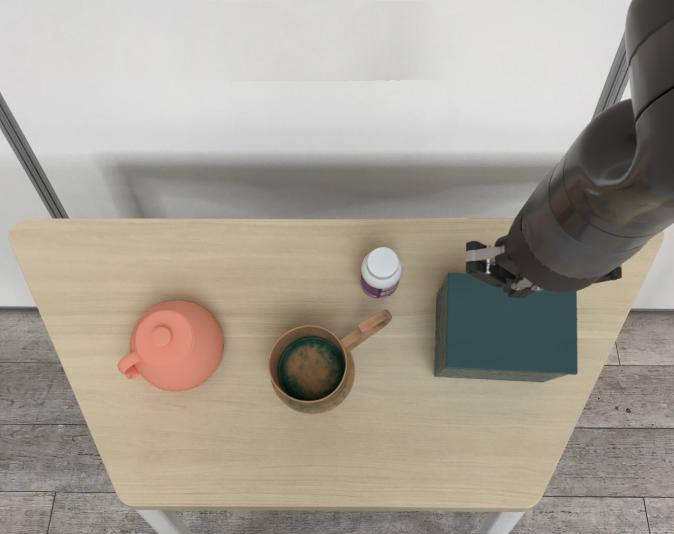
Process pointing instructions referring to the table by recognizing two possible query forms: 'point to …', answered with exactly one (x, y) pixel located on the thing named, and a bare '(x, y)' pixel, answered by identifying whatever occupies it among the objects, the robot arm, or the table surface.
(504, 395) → the table surface
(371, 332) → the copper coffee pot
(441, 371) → the teal storage bin
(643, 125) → the robot arm
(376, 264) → the pill bottle
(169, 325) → the sugar bowl
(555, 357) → the lid
